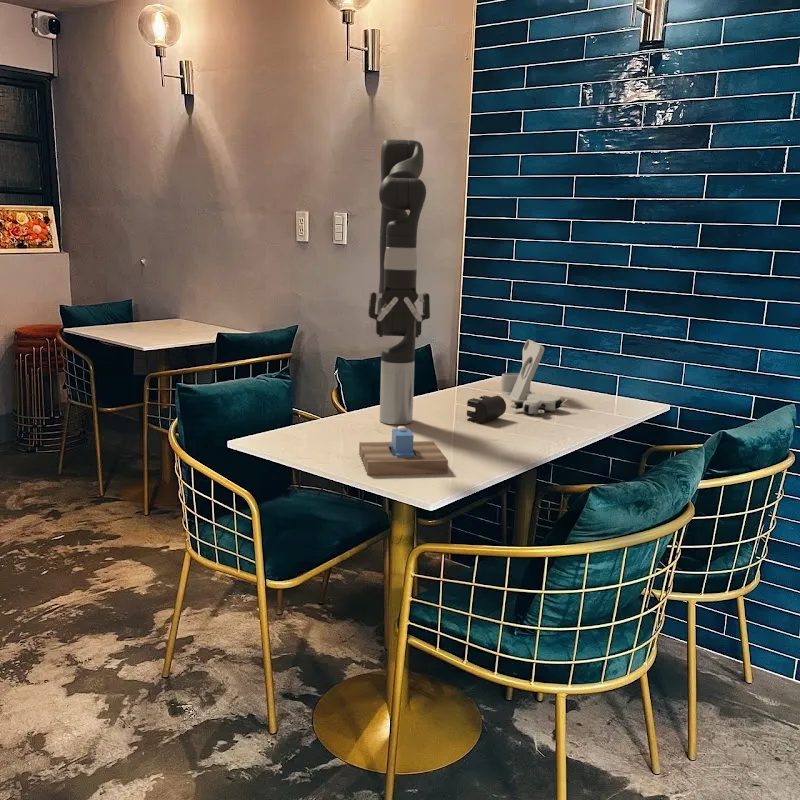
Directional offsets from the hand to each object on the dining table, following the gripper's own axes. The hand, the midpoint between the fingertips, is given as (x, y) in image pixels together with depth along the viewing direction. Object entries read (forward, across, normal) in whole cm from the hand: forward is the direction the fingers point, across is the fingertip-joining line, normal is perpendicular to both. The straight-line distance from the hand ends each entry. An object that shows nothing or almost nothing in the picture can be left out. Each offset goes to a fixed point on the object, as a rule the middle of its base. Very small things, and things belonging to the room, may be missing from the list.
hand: (398, 336), depth 188 cm
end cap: (+28, +31, +30) cm, 52 cm away
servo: (+28, 0, -10) cm, 30 cm away
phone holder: (+28, +51, +61) cm, 84 cm away
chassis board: (+28, 0, -10) cm, 30 cm away
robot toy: (+29, +50, +40) cm, 70 cm away
